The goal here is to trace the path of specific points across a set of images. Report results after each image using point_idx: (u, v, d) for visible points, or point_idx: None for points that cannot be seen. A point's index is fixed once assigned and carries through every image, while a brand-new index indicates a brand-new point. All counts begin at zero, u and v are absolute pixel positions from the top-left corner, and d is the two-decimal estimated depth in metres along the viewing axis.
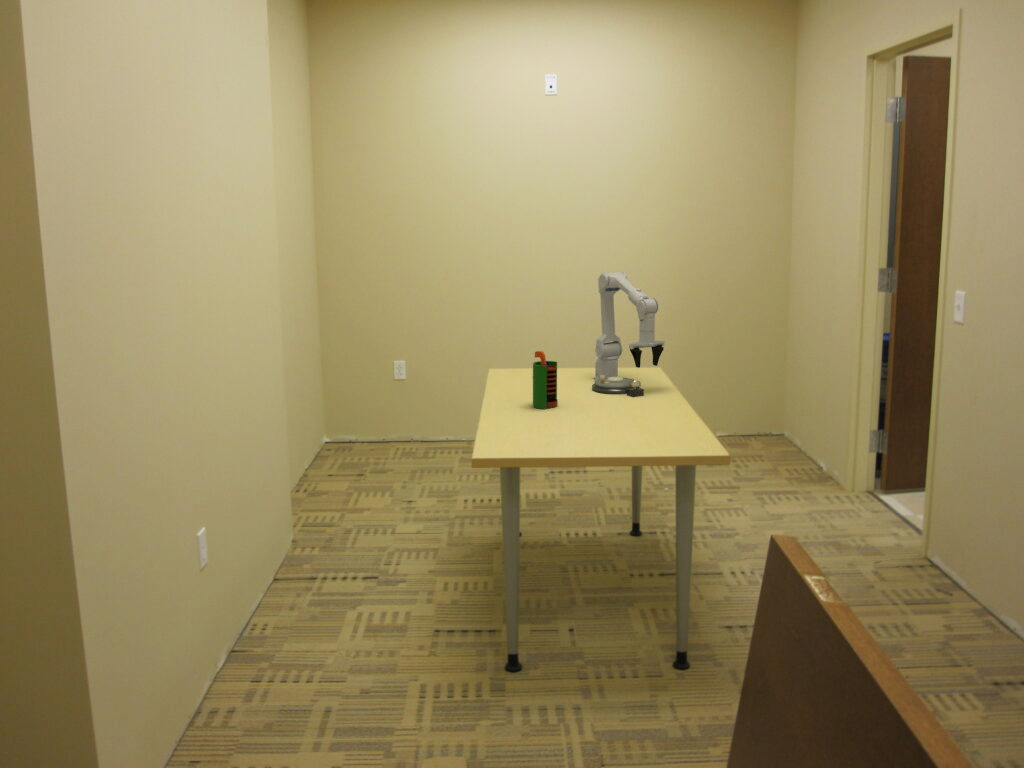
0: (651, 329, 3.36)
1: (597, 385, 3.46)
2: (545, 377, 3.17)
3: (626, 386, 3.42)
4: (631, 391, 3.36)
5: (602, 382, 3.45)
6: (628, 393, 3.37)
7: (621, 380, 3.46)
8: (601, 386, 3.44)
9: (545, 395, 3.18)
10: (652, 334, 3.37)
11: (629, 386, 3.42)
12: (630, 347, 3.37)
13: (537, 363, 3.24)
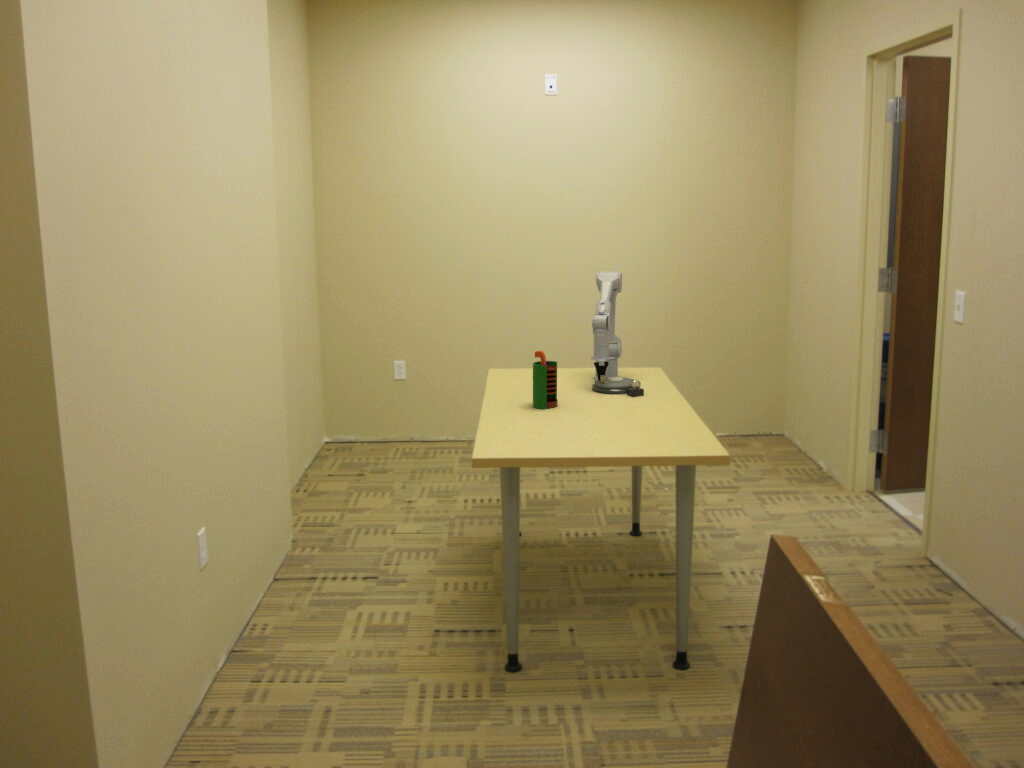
0: (600, 344, 3.41)
1: (597, 385, 3.45)
2: (545, 377, 3.17)
3: (626, 386, 3.42)
4: (631, 391, 3.36)
5: (602, 382, 3.45)
6: (628, 393, 3.37)
7: (621, 380, 3.46)
8: (601, 386, 3.43)
9: (545, 395, 3.18)
10: (594, 349, 3.44)
11: (629, 386, 3.42)
12: None
13: (537, 363, 3.24)
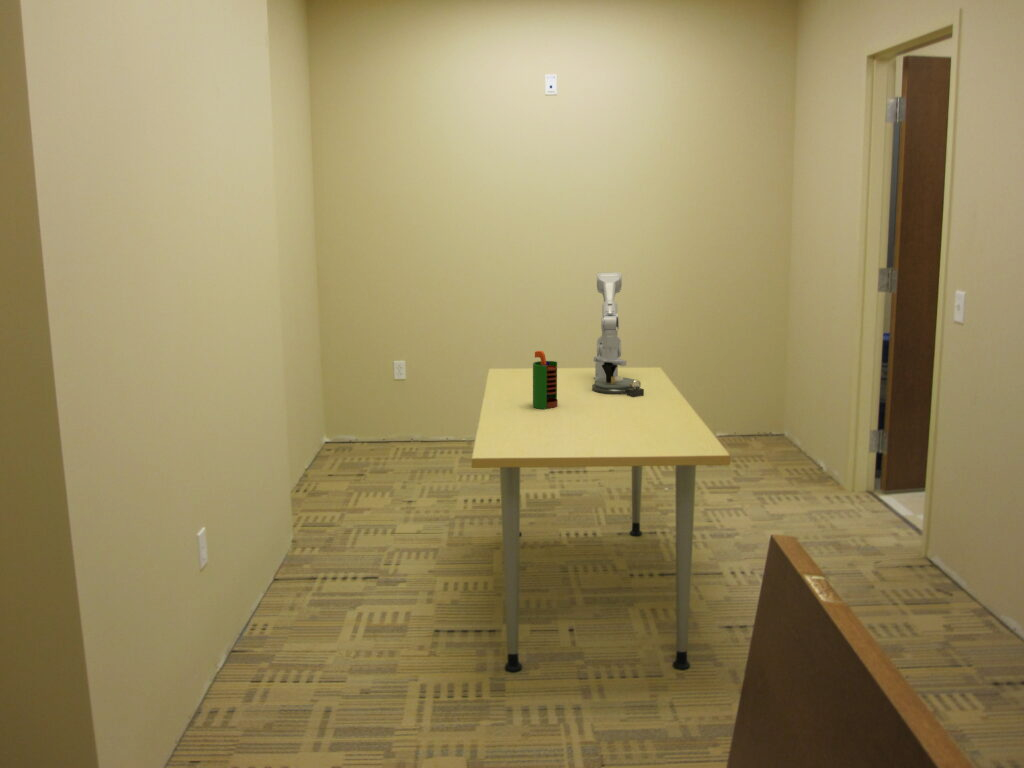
0: (610, 346, 3.38)
1: (610, 387, 3.41)
2: (545, 377, 3.17)
3: None
4: (631, 391, 3.36)
5: (614, 383, 3.42)
6: (628, 393, 3.37)
7: None
8: (617, 387, 3.41)
9: (545, 395, 3.18)
10: (606, 351, 3.38)
11: None
12: None
13: (537, 363, 3.24)
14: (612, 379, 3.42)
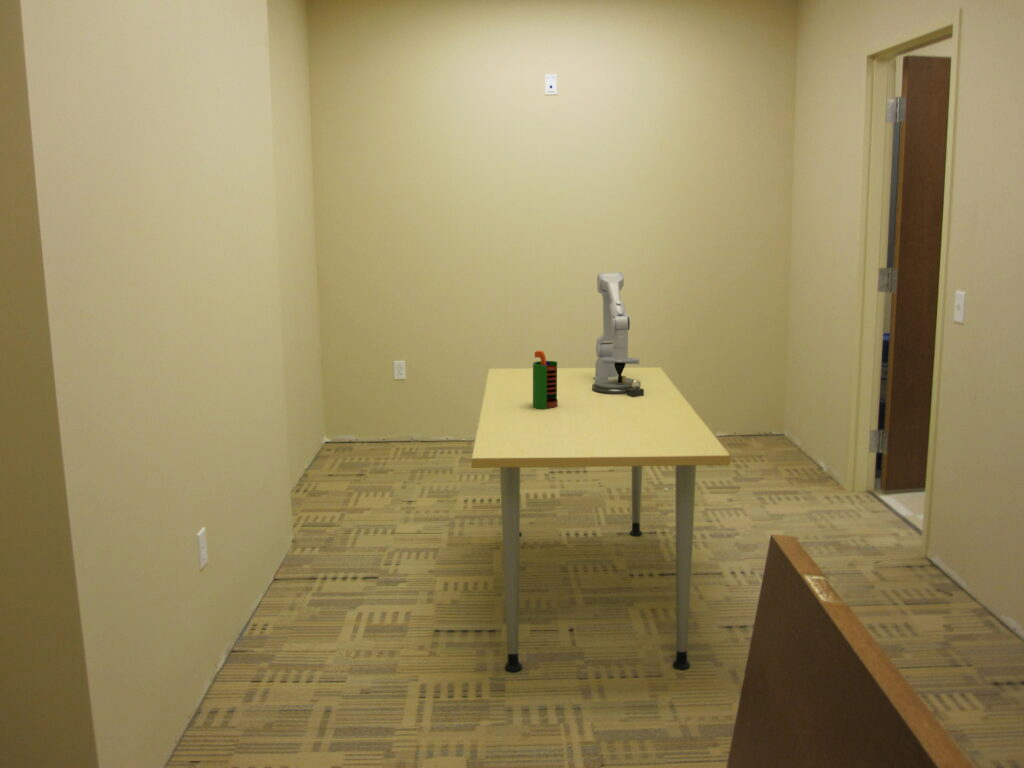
0: (621, 346, 3.37)
1: (624, 387, 3.41)
2: (545, 377, 3.17)
3: None
4: (631, 391, 3.36)
5: (625, 383, 3.43)
6: (628, 393, 3.37)
7: None
8: (630, 386, 3.43)
9: (545, 395, 3.18)
10: (621, 351, 3.38)
11: None
12: (600, 361, 3.42)
13: (537, 363, 3.24)
14: (624, 379, 3.42)
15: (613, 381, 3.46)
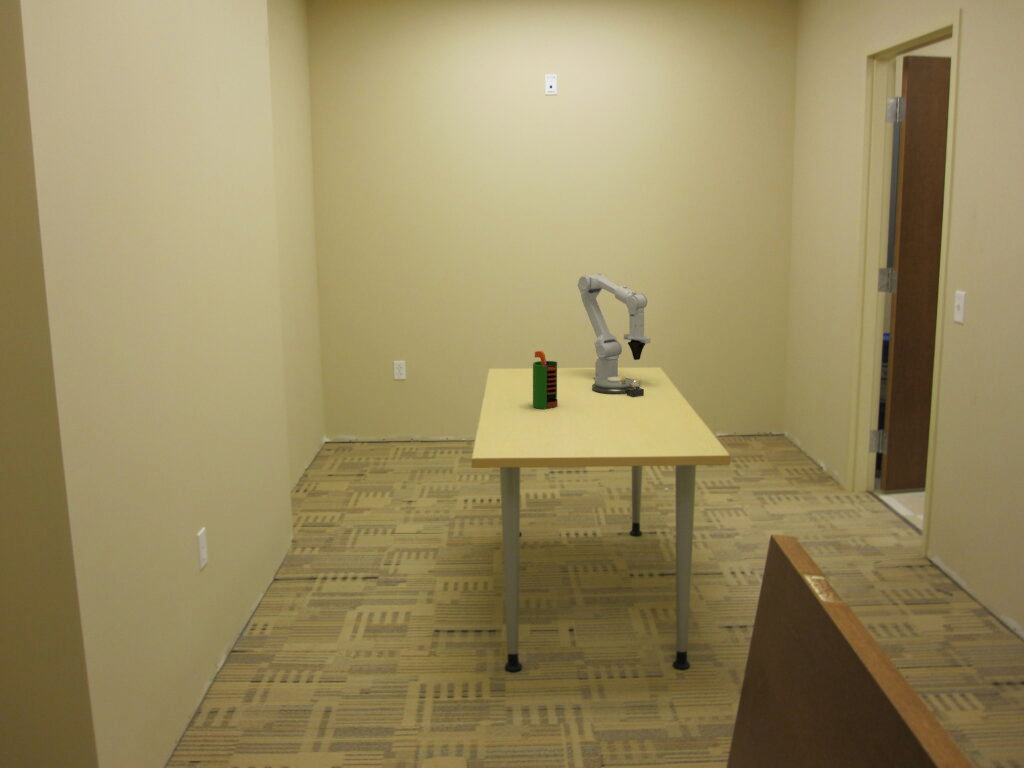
0: (642, 323, 3.48)
1: (624, 387, 3.41)
2: (545, 377, 3.17)
3: None
4: (631, 391, 3.36)
5: (625, 383, 3.43)
6: (628, 393, 3.37)
7: None
8: (630, 386, 3.43)
9: (545, 395, 3.18)
10: (632, 328, 3.49)
11: None
12: None
13: (537, 363, 3.24)
14: (624, 379, 3.42)
15: (613, 381, 3.46)
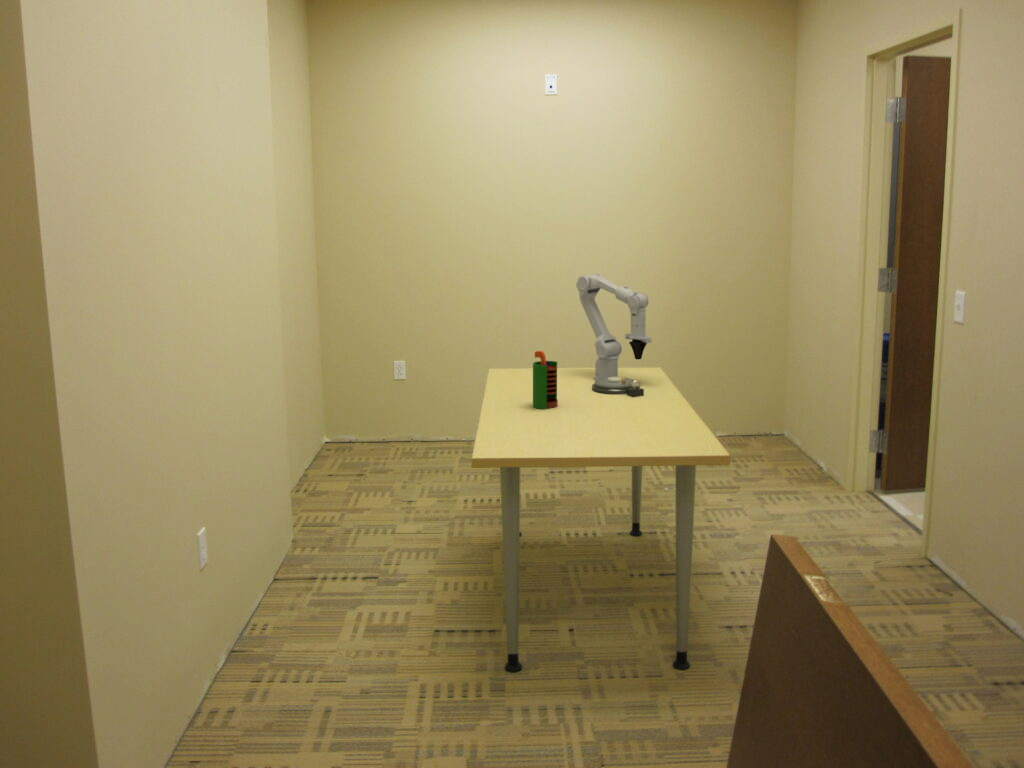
0: (643, 323, 3.49)
1: (624, 387, 3.41)
2: (545, 377, 3.17)
3: None
4: (631, 391, 3.36)
5: (625, 383, 3.43)
6: (628, 393, 3.37)
7: None
8: (630, 386, 3.43)
9: (545, 395, 3.18)
10: (633, 328, 3.50)
11: None
12: None
13: (537, 363, 3.24)
14: (624, 379, 3.42)
15: (613, 381, 3.46)
